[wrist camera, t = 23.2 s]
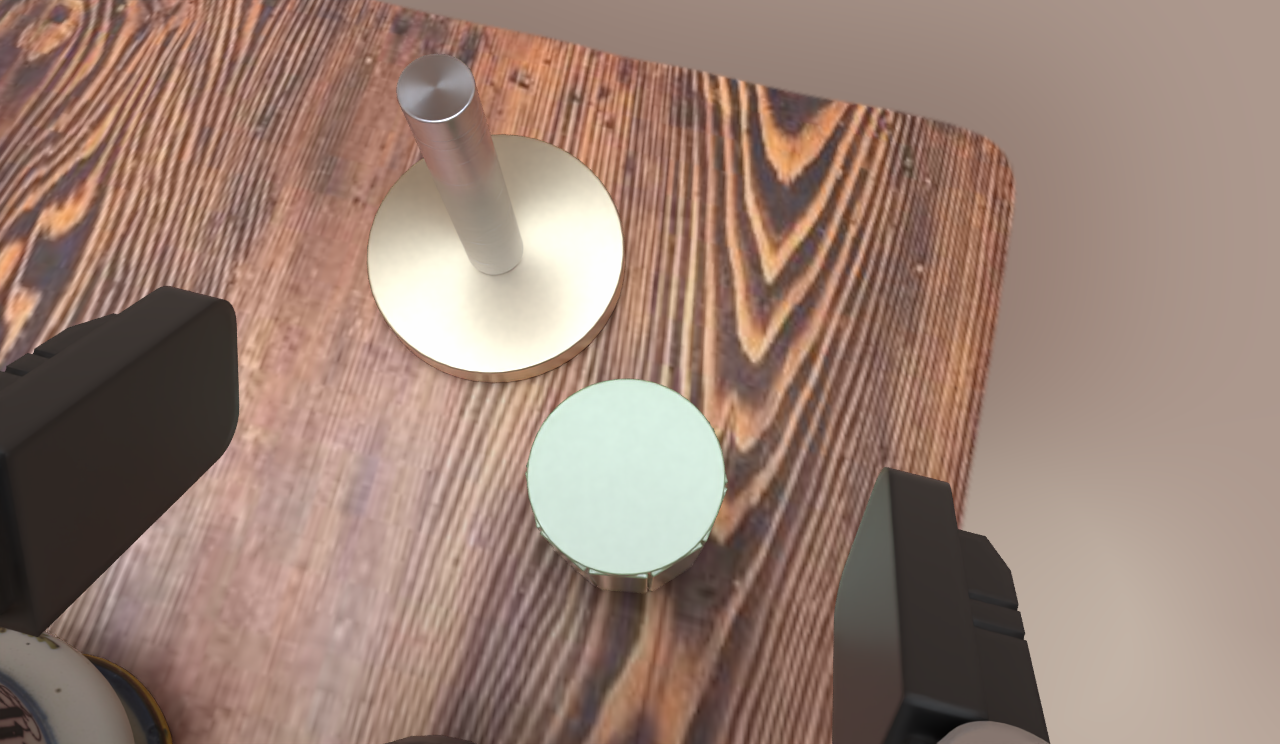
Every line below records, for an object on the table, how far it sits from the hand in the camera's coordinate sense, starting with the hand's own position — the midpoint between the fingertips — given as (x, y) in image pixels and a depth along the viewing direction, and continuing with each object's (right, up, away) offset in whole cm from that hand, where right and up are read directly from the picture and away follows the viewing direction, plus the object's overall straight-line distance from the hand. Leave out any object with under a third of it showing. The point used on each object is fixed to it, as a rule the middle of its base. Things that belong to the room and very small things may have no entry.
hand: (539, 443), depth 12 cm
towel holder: (-5, +6, +31) cm, 32 cm away
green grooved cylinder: (+1, -5, +28) cm, 29 cm away
